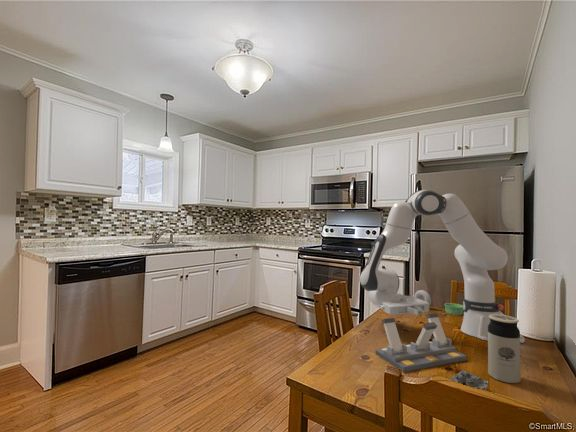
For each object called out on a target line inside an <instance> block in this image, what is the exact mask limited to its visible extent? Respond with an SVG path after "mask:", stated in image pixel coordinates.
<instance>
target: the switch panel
mask: <svg viewBox="0 0 576 432" xmlns="http://www.w3.org/2000/svg"><path fill="white" fill-rule="evenodd" d="M445 337H446V336H445ZM446 339H447V342H448V343H447V344H444V345H440V341H438V340H436V339H435V338H432V341H431V340H429V341H428V343H427V345H426V347H425V348H419V349H417V344H415V343H416V342H413V341H410V344H404V343H401V344H402V348H403V351H400V352H394V348H392V347H390V345H386V347H385V348H384V347H383V348H378V349H375V355H377V356H378V357H379V358H380V359H382V360H384V361H386V362H387V363H389V364H390V365H391V366H393V367H395V368H396V367H397V368H396V369H398V368H399V369H401V370H402V371H401V370H400V371H401V372H402V373H406V372H411V371H417V370H423V369H425V368H426V369H427V368H433V367H438V366H442V365H443V366H444V365H447V364H448V365H449V364H453V363H458V362H464V361H467V360H468V358H467V357H468V355H466V354H464V353H462V352H460V351H457V347H456V346H453V345H452V339H451V338H449V337H446ZM399 369H398V370H399Z"/></svg>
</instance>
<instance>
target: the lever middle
mask: <svg viewBox="0 0 576 432" xmlns="http://www.w3.org/2000/svg"><path fill="white" fill-rule="evenodd" d="M436 327H437V325H436V324H435V323H434V322H431V323H429V322H426V323H423V326H422V329H421V331H420V332H419V336H418V337H417V340H416V341H415V342H414V343H415V344H417V349H419V348H425V347H426V345H427V343H428V342H430V341H431V340H430V339H431V337H432V336H433V332H434V330H435V329H436Z"/></svg>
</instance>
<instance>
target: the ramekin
mask: <svg viewBox="0 0 576 432" xmlns="http://www.w3.org/2000/svg"><path fill="white" fill-rule="evenodd" d="M444 309H445V310H444V311H446V312H445V313H446V314H447V313H449V314H448V315H451V314H452V316H463V315H464V310H463V304H460V303H454V302H453V303H452V302H446V303H444Z"/></svg>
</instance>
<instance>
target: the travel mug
mask: <svg viewBox="0 0 576 432" xmlns="http://www.w3.org/2000/svg"><path fill="white" fill-rule="evenodd" d="M489 318H490V323H489V325H488V341H487V371H488V372H487V374H488V375H489V376H491V377H492V378H493V379H495V380H497V381H499V382H502V383H507V384H518V383H520V382H521V343H520V334H521V332H520V328H519V327H518V323H519V321H520V320H519V319H518V318H516V317H515V316H514V317H513V316H510V315H505V314H504V315H499V314H492V315H489Z"/></svg>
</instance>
